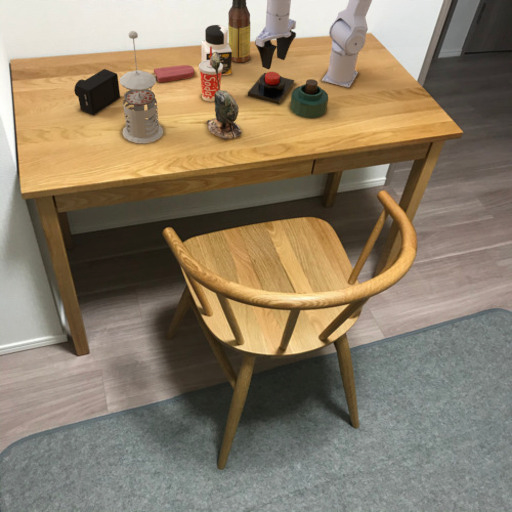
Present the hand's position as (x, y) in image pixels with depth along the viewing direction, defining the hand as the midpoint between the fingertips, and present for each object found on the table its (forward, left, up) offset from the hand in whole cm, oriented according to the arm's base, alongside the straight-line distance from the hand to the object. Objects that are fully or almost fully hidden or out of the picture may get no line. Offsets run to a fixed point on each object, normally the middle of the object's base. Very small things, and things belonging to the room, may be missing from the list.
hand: (273, 63), depth 148 cm
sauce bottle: (-12, -15, -8) cm, 21 cm away
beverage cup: (+11, -13, -8) cm, 19 cm away
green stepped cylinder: (+4, +12, -8) cm, 15 cm away
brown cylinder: (+4, +12, -7) cm, 15 cm away
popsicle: (+7, -28, -8) cm, 30 cm away
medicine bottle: (-3, -18, -8) cm, 20 cm away
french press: (+32, -21, -8) cm, 39 cm away
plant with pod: (+24, -3, -8) cm, 26 cm away
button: (0, 0, -5) cm, 5 cm away
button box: (0, 0, -8) cm, 8 cm away
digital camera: (+27, -37, -8) cm, 47 cm away
